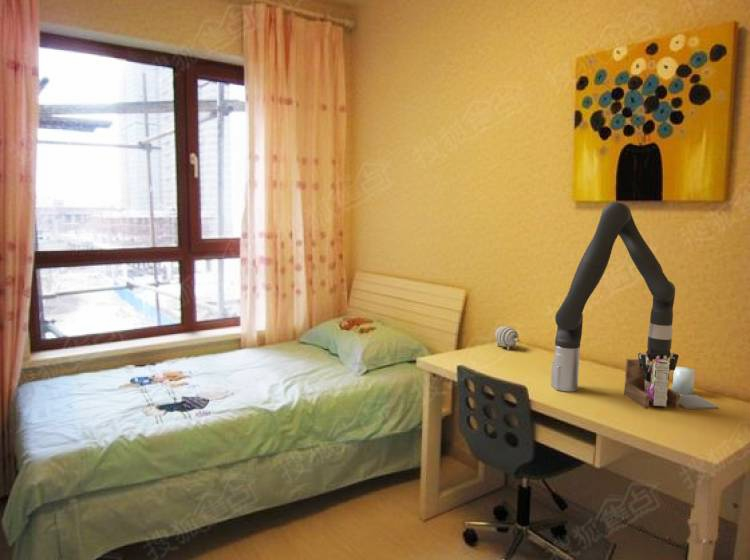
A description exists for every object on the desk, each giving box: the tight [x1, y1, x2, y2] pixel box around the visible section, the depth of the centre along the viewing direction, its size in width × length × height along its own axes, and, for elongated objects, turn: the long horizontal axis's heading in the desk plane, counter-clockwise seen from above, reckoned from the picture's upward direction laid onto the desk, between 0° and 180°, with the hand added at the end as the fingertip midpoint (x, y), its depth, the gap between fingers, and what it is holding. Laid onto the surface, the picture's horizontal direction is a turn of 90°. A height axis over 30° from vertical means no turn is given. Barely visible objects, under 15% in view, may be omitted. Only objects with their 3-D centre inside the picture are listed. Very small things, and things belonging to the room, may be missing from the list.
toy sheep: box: [494, 325, 520, 351], centre depth 260 cm, size 11×17×11 cm, turn 32°
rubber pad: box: [679, 394, 719, 410], centre depth 189 cm, size 12×12×1 cm
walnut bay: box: [623, 358, 681, 410], centre depth 189 cm, size 12×14×14 cm
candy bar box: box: [644, 357, 671, 407], centre depth 187 cm, size 11×5×16 cm, turn 169°
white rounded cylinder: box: [671, 366, 696, 395], centre depth 199 cm, size 7×7×9 cm
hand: (656, 381), depth 187 cm, fingers closed on candy bar box, 5 cm apart
